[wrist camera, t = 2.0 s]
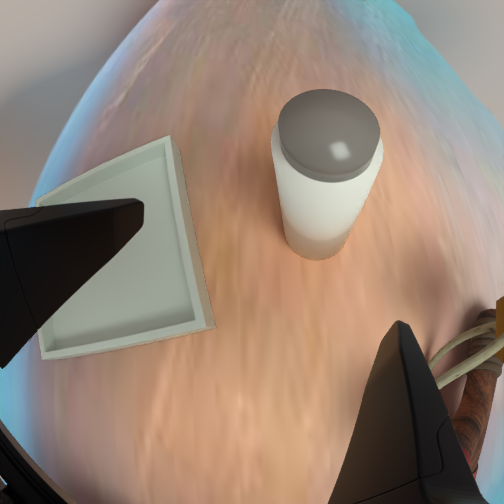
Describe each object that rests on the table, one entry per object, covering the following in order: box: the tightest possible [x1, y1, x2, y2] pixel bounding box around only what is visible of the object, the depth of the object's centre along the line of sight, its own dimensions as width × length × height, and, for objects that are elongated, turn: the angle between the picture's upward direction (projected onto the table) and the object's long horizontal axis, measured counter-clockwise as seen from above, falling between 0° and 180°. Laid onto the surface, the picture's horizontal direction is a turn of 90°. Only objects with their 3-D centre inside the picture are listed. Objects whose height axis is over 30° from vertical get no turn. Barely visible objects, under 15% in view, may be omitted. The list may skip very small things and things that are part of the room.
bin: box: [36, 135, 216, 360], centre depth 23 cm, size 16×16×2 cm
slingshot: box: [428, 296, 504, 478], centre depth 13 cm, size 17×10×15 cm
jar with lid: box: [271, 89, 383, 261], centre depth 16 cm, size 5×5×12 cm
